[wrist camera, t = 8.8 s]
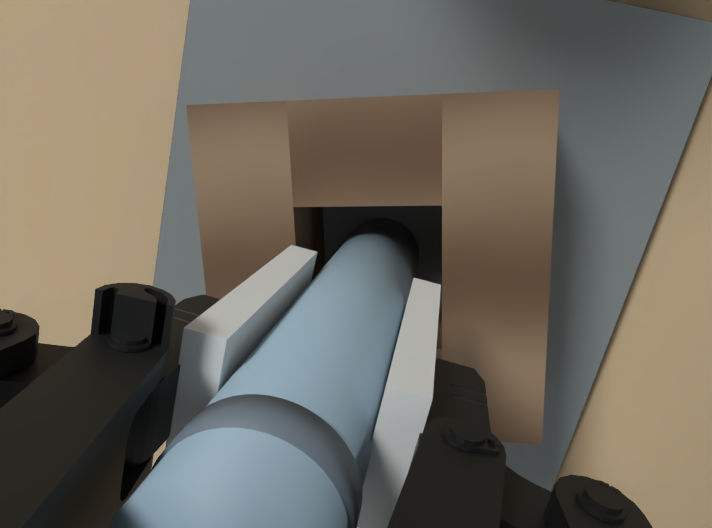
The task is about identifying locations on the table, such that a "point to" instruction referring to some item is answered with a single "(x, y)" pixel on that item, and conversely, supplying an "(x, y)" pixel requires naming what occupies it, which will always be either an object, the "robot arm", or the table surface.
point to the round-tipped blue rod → (293, 406)
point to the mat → (467, 75)
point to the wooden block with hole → (402, 188)
